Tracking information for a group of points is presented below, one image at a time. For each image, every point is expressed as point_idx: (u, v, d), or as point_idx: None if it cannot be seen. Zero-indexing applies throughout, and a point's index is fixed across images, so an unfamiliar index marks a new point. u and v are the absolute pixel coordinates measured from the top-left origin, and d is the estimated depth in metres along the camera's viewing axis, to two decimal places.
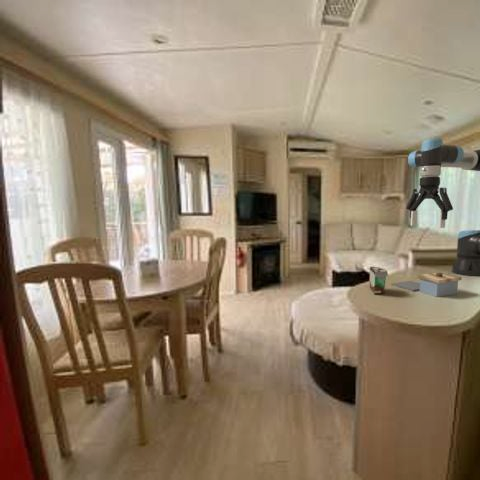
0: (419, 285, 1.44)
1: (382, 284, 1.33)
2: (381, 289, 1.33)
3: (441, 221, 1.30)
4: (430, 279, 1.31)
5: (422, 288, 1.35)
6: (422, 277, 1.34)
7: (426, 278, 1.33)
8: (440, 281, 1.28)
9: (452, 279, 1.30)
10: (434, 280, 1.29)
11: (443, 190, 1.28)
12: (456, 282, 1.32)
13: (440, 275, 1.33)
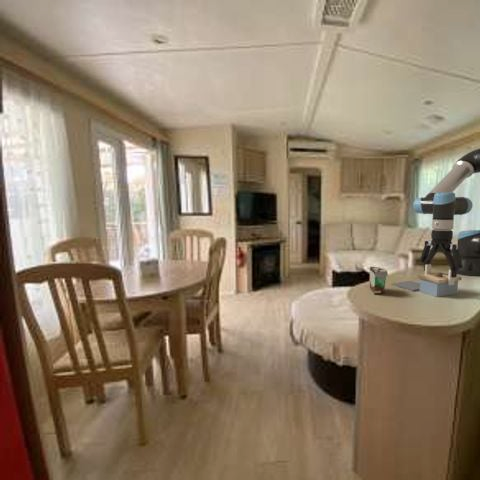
0: (419, 285, 1.44)
1: (382, 284, 1.33)
2: (381, 289, 1.33)
3: (450, 279, 1.28)
4: (430, 279, 1.31)
5: (422, 288, 1.35)
6: (422, 277, 1.34)
7: (426, 278, 1.33)
8: (440, 281, 1.28)
9: None
10: (434, 280, 1.29)
11: (456, 247, 1.26)
12: (456, 282, 1.32)
13: (440, 275, 1.33)
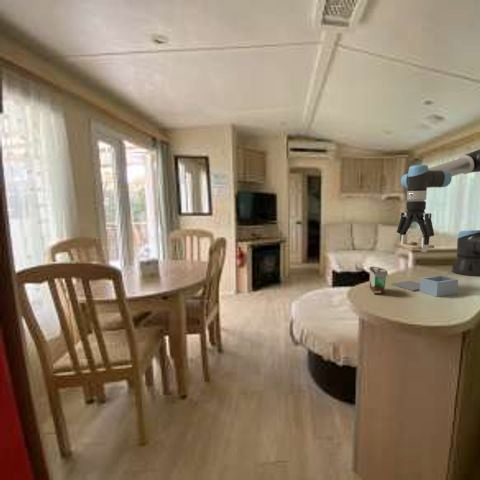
0: (419, 285, 1.44)
1: (382, 284, 1.33)
2: (381, 289, 1.33)
3: (423, 246, 1.37)
4: (405, 247, 1.39)
5: (422, 288, 1.35)
6: (398, 246, 1.43)
7: (401, 246, 1.41)
8: (413, 248, 1.36)
9: None
10: (408, 247, 1.38)
11: (428, 216, 1.35)
12: (456, 282, 1.32)
13: (414, 244, 1.41)
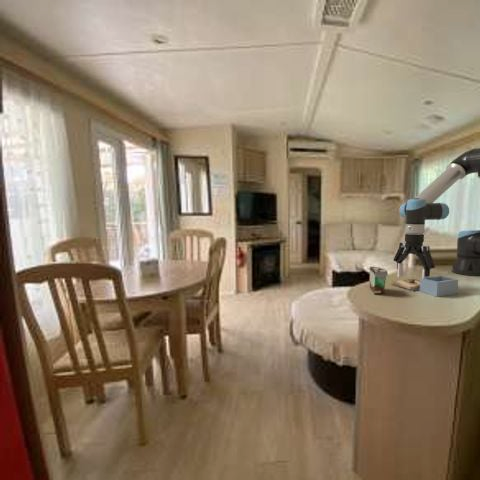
0: None
1: (382, 284, 1.33)
2: (381, 289, 1.33)
3: (424, 277, 1.38)
4: (403, 285, 1.41)
5: (422, 288, 1.35)
6: (396, 283, 1.45)
7: (399, 284, 1.43)
8: (411, 287, 1.38)
9: None
10: (406, 286, 1.40)
11: (426, 249, 1.36)
12: (456, 282, 1.32)
13: (412, 282, 1.44)
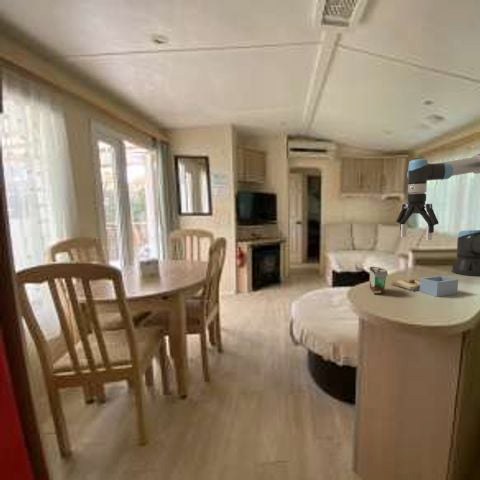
0: None
1: (382, 284, 1.33)
2: (381, 289, 1.33)
3: (428, 234, 1.42)
4: (403, 285, 1.41)
5: (422, 288, 1.35)
6: (396, 283, 1.45)
7: (399, 284, 1.43)
8: (411, 287, 1.38)
9: None
10: (406, 286, 1.40)
11: (429, 206, 1.41)
12: (456, 282, 1.32)
13: (412, 282, 1.44)
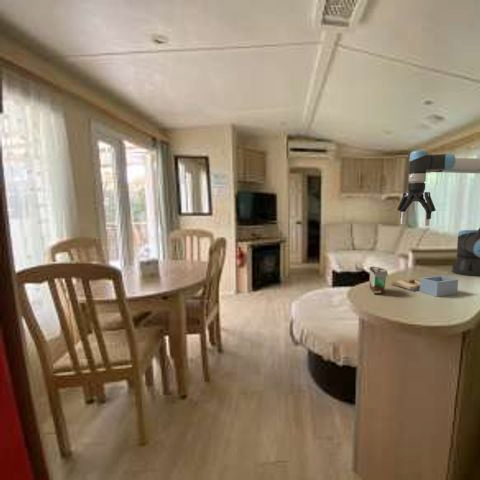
0: None
1: (382, 284, 1.33)
2: (381, 289, 1.33)
3: (426, 220, 1.53)
4: (403, 285, 1.41)
5: (422, 288, 1.35)
6: (396, 283, 1.45)
7: (399, 284, 1.43)
8: (411, 287, 1.38)
9: None
10: (406, 286, 1.40)
11: (427, 194, 1.52)
12: (456, 282, 1.32)
13: (412, 282, 1.44)
